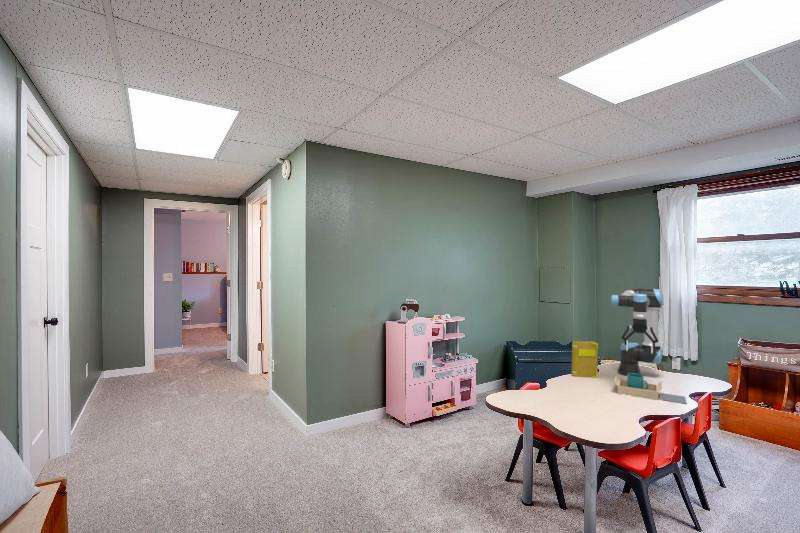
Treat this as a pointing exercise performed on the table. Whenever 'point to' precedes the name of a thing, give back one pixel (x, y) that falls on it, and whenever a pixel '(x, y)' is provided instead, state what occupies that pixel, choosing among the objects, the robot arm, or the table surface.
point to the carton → (648, 393)
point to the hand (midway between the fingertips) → (639, 351)
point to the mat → (674, 398)
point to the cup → (636, 381)
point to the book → (584, 359)
